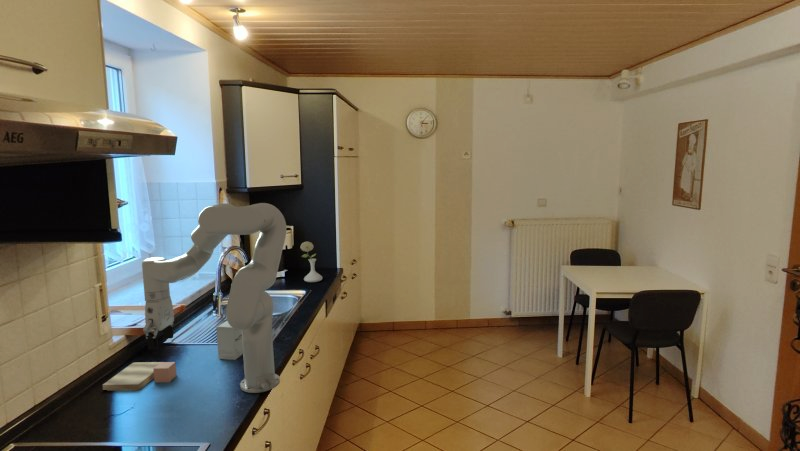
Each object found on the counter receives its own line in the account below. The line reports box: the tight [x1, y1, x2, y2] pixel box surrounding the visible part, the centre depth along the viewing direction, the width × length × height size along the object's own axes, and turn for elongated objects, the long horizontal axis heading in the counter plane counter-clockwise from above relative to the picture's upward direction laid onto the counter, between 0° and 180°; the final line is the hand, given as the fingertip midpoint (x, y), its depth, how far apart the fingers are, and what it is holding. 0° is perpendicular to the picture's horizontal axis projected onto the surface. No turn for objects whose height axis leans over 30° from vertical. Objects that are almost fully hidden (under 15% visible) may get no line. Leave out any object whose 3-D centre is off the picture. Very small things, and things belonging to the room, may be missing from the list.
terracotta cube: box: [153, 361, 177, 383], centre depth 159 cm, size 5×5×5 cm
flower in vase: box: [300, 241, 323, 283], centre depth 286 cm, size 13×11×25 cm
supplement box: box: [215, 320, 243, 361], centre depth 177 cm, size 7×7×13 cm
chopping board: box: [102, 361, 162, 391], centre depth 161 cm, size 17×12×2 cm
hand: (161, 343), depth 158 cm, fingers open, 9 cm apart
